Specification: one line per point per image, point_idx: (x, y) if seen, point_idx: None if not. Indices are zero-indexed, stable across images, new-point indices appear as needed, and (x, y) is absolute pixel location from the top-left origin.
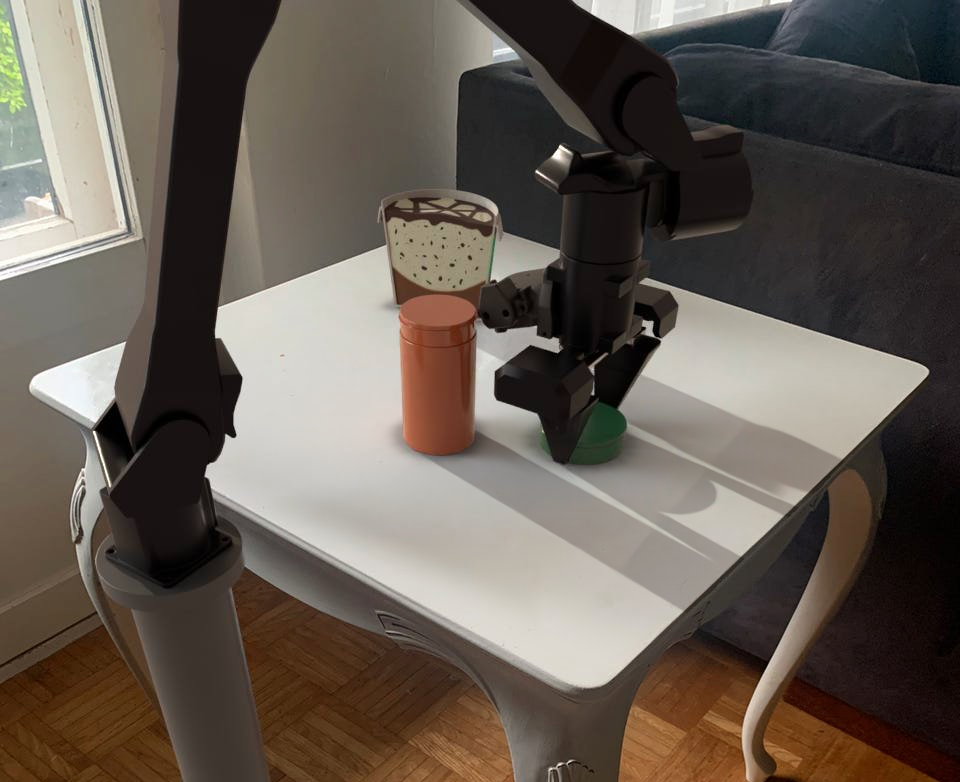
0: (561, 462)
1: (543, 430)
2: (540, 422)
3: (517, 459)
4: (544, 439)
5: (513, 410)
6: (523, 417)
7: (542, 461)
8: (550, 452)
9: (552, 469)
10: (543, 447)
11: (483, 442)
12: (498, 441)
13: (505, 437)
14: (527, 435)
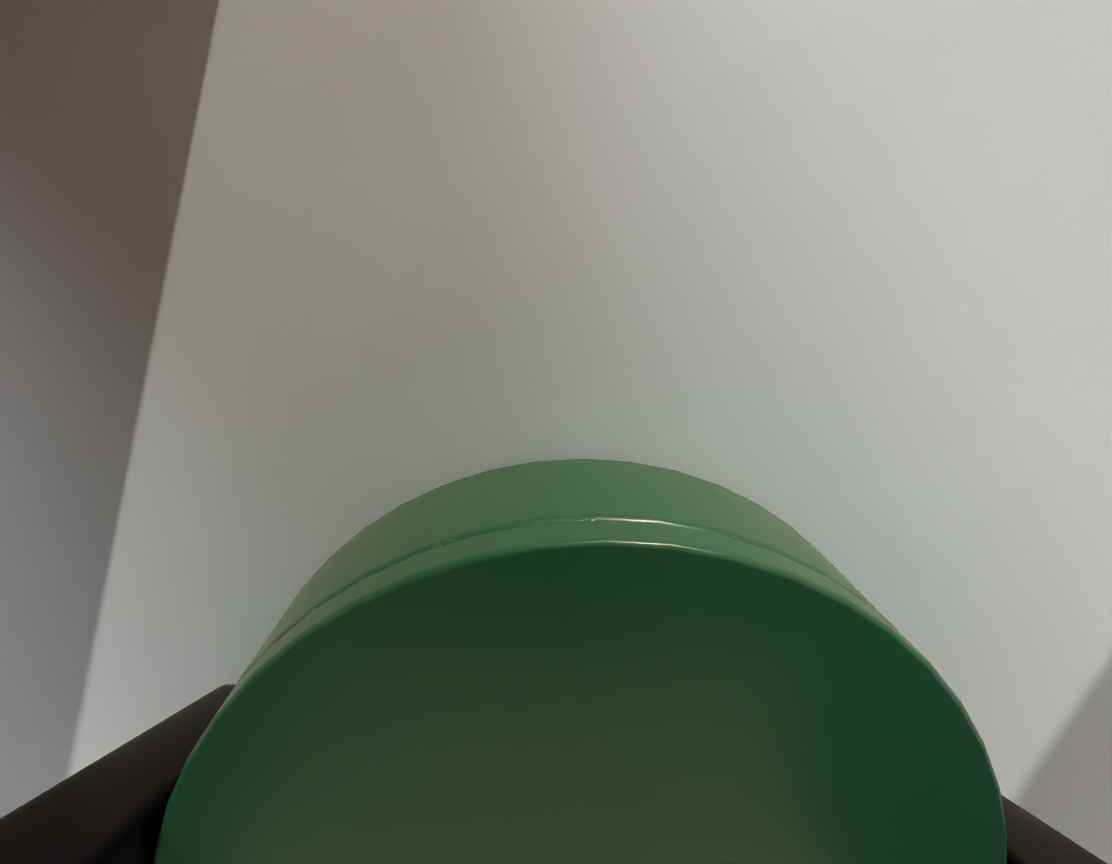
0: None
1: (267, 654)
2: (388, 573)
3: (56, 452)
4: (271, 634)
5: (827, 38)
6: (736, 196)
7: (164, 627)
8: (156, 726)
9: (114, 725)
10: (309, 581)
11: (98, 26)
12: (209, 165)
13: (314, 196)
14: (456, 365)
